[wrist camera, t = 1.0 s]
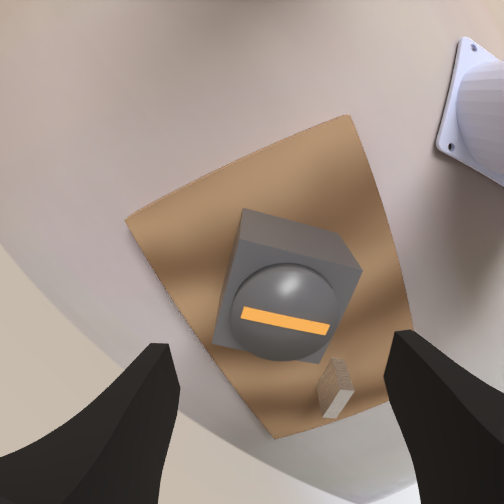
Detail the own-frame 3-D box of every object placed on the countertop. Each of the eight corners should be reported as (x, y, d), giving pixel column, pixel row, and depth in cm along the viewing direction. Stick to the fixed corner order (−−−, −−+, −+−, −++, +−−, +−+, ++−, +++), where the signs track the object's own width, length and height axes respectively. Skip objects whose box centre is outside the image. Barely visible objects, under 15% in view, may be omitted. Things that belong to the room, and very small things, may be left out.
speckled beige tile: (344, 359, 20) (354, 391, 18) (328, 387, 21) (335, 418, 19) (331, 357, 20) (340, 389, 17) (316, 385, 21) (322, 417, 19)
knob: (338, 233, 17) (369, 280, 12) (306, 313, 19) (321, 376, 14) (243, 207, 16) (238, 247, 11) (220, 293, 18) (209, 356, 13)
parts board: (131, 214, 18) (124, 220, 17) (343, 115, 16) (349, 114, 14) (274, 428, 25) (274, 439, 24) (416, 376, 23) (421, 385, 22)
